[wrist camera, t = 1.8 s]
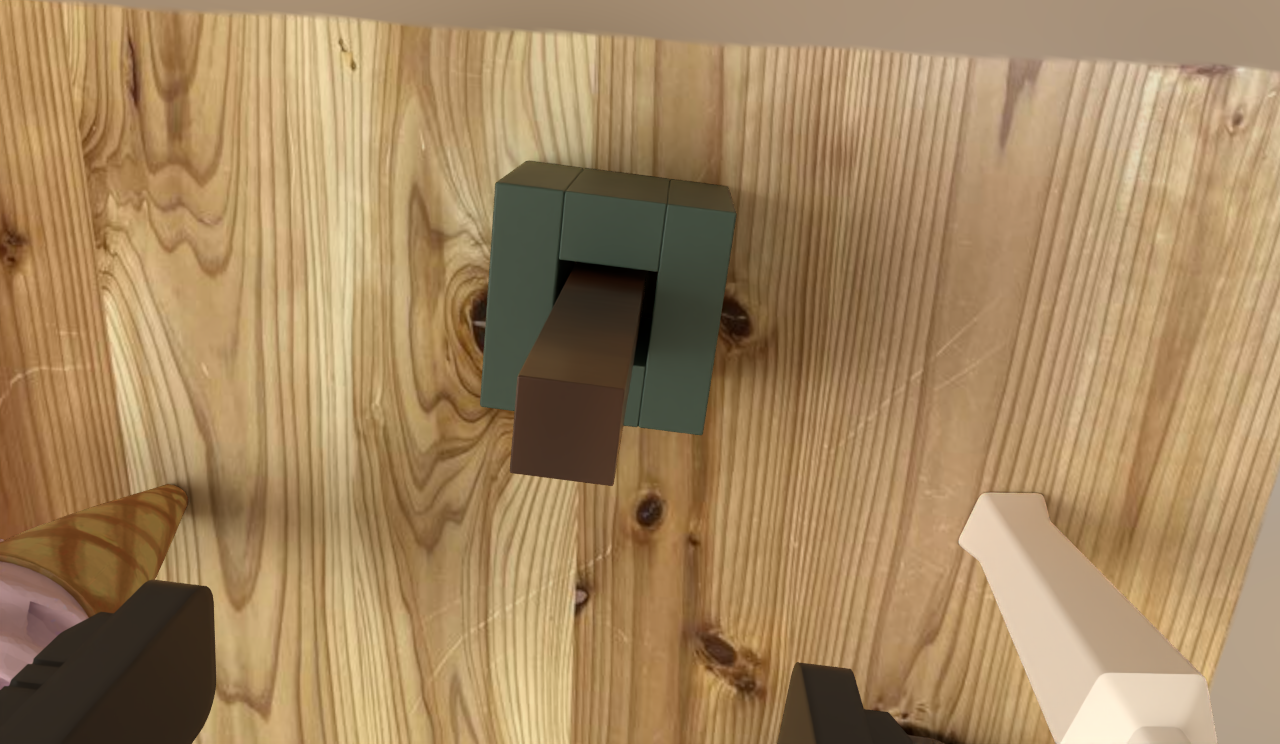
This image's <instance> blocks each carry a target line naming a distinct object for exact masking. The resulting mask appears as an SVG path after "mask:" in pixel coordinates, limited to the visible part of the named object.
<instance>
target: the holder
mask: <svg viewBox="0 0 1280 744" xmlns="http://www.w3.org/2000/svg"><path fill="white" fill-rule="evenodd" d="M736 215H737V214H736V211H735V208H734V204H733V201H732V198H731V194H730V191H729V188H728V187H727V186H721V185H714V184H706V183H698V182H690V181H682V180H674V179H671V180H670V179H667V178H659V177H651V176H644V175H636V174H628V173H620V172H612V171H604V170H597V169H589V168H585V169H583V168H580V167H572V166H564V165H556V164H549V163H541V162H533V161H526V162H525V163H523V164H522V165H520V166H519V167H517V168H516V169H515V170H513V171H512V172H510V173H509V174H508V175H506V176H505V177H503V178H502V179H501V180H499V181H498V182H496V184H495V197H494V212H493V226H492V240H491V255H490V269H489V284H488V298H487V313H486V327H485V342H484V356H483V371H482V385H481V399H480V405H481V406H482V407H488V408H495V409H503V410H511V411H515V401H516V389H517V377H518V375H519V373H520V371H521V369H522V367H523V365H524V363H525V361H526V359H527V357H528V355H529V353H530V351H531V349H532V347H533V346H534V344H535V342H536V340H537V338H538V336H539V334H540V332H541V330H542V328H543V326H544V324H545V322H546V320H547V318H548V316H549V314H550V312H551V310H552V308H553V307H554V305H555V303H556V301H557V299H558V297H559V295H560V293H561V291H562V289H563V287H564V285H565V283H566V281H567V279H568V277H569V275H570V273H571V271H572V269H573V268H574V266H575V261H576V262H583V263H591V264H599V265H607V266H615V267H622V268H630V269H638V270H646V271H654V272H658V275H657V283H656V291H655V299H654V306H653V314H652V319H651V318H646V317H641V322H640V328H639V334H638V340H637V346H636V352H635V358H634V364H633V370H632V376H631V382H630V388H629V394H628V400H627V406H626V412H625V418H624V424H623V425H624V426H632V427H638V426H639V427H641V428H648V429H656V430H664V431H672V432H679V433H687V434H695V435H702V434H703V430H704V423H705V417H706V410H707V404H708V397H709V391H710V384H711V378H712V371H713V365H714V358H715V352H716V345H717V339H718V332H719V326H720V319H721V313H722V306H723V300H724V293H725V287H726V280H727V274H728V267H729V261H730V254H731V248H732V241H733V235H734V228H735V222H736Z"/></svg>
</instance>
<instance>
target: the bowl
mask: <svg viewBox="0 0 1280 744" xmlns="http://www.w3.org/2000/svg"><path fill="white" fill-rule="evenodd" d="M908 736H909V737H910V738H911V739H912V741H913V743H914V744H945V743H943V742H940V741H938V740H936V739H932V738H928V737H920V736H912V735H908Z"/></svg>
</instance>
